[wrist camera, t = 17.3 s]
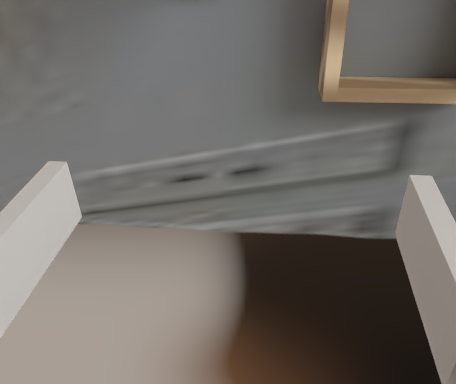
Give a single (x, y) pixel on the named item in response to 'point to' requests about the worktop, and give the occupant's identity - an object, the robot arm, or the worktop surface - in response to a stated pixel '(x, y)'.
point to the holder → (370, 86)
